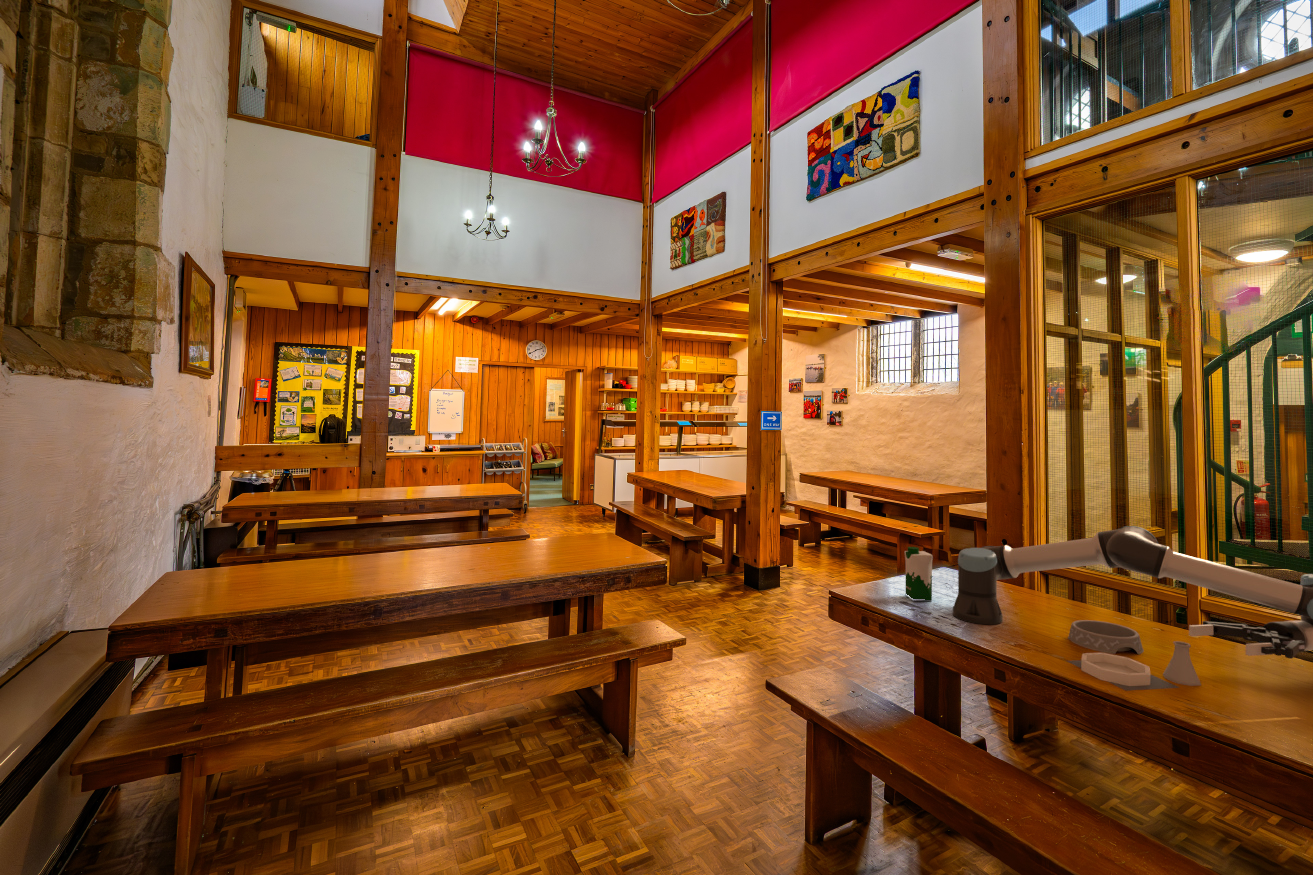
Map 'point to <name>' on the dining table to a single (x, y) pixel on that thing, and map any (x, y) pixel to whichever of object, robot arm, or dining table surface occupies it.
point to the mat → (1154, 684)
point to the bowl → (1115, 669)
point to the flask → (1181, 666)
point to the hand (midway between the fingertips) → (1217, 639)
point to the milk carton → (918, 573)
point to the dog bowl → (1104, 636)
